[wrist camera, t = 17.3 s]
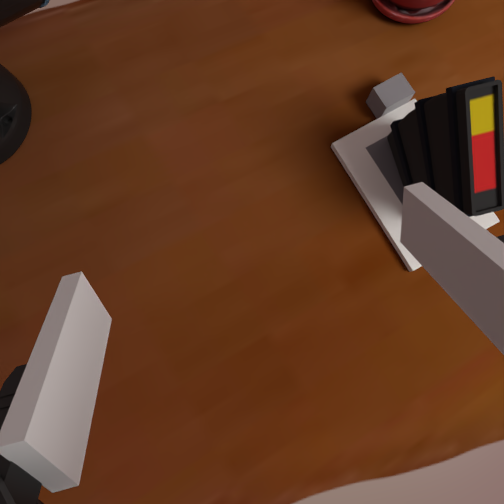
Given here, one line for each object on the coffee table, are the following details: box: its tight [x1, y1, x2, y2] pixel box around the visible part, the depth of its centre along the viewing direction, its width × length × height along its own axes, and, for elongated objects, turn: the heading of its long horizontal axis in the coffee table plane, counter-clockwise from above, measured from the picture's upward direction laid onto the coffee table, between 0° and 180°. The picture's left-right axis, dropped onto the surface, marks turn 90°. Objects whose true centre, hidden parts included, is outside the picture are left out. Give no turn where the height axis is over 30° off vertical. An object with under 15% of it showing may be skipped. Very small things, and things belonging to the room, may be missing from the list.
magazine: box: [387, 77, 504, 217], centre depth 38 cm, size 4×13×15 cm, turn 14°
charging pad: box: [331, 73, 499, 272], centre depth 43 cm, size 21×12×3 cm, turn 29°
